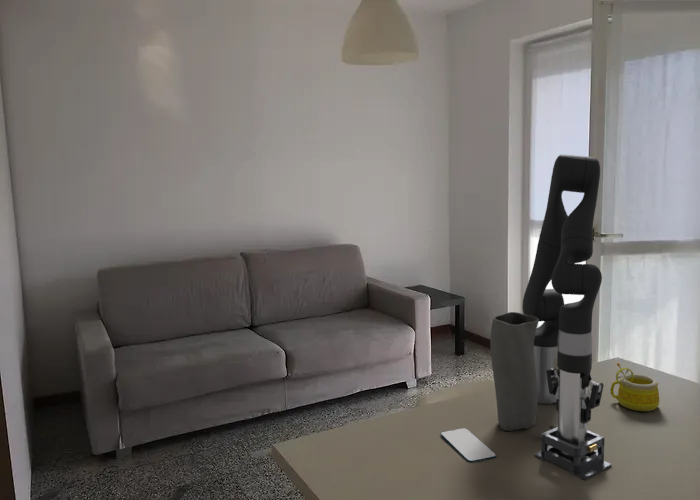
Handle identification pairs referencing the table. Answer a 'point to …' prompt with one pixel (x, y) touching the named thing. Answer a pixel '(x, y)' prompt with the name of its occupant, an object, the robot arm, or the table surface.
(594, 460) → the collar bracket
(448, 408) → the table surface
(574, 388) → the silver metal cylinder
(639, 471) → the table surface
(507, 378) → the vase
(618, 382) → the mug
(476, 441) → the smartphone
